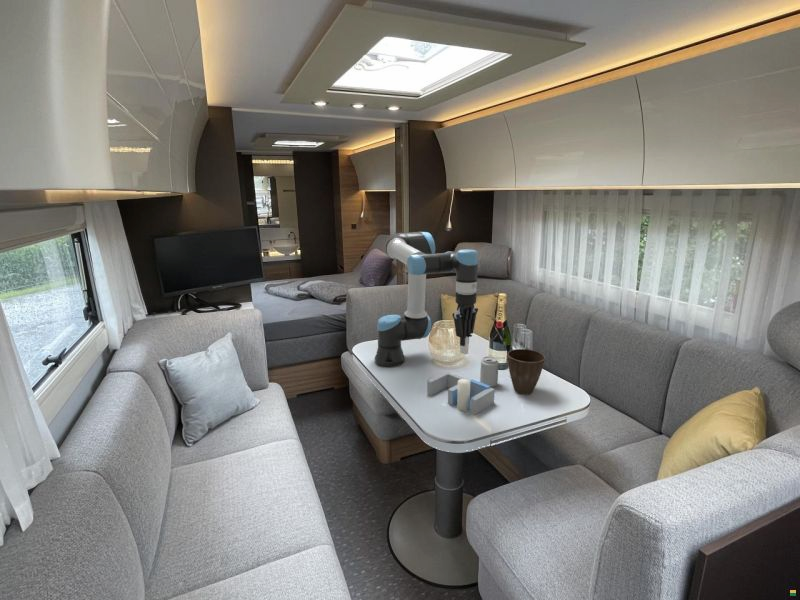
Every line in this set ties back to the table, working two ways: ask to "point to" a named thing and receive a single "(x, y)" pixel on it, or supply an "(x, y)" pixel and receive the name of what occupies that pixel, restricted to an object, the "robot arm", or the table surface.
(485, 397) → the folding screen
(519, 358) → the plant pot
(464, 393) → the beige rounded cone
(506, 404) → the table surface
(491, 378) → the can
